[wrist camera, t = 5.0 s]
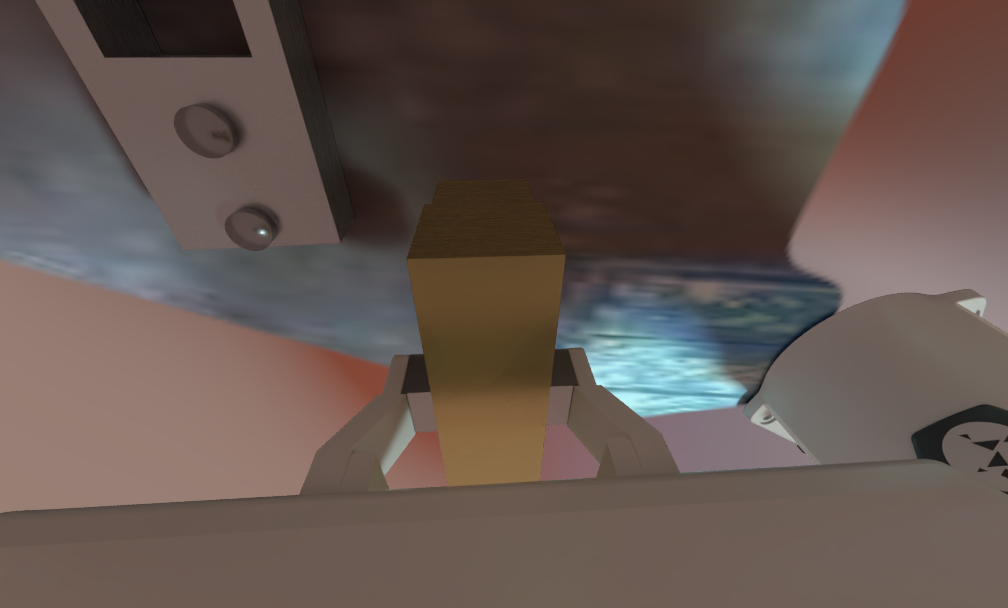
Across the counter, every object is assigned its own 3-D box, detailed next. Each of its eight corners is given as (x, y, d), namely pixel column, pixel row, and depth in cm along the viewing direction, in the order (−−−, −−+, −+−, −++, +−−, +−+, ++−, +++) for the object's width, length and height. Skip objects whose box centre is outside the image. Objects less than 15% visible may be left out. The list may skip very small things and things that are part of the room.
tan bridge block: (437, 165, 12) (406, 259, 7) (527, 164, 12) (565, 255, 7) (460, 383, 18) (453, 517, 13) (519, 380, 18) (536, 512, 13)
